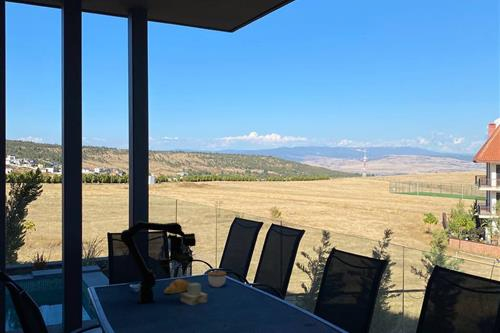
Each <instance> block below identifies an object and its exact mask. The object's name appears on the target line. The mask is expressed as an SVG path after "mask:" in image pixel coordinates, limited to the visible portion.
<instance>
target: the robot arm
mask: <svg viewBox="0 0 500 333" xmlns="http://www.w3.org/2000/svg"><path fill="white" fill-rule="evenodd" d="M141 230H147V231H155V232H156V231H157V232H159V231H160V232H165V233H168V235H167V236H166V239H168V240H170V241H169V246H170V247H169V248H168V251H169V256H168V258H166V257H163V258H158V259H157V262H156V263H157V264H156V265H159V266H160V267H161V268H162V270H163V272H164V274H165V276H166V278H167V279H169V276H170V275H169V268H170V265H169V264H171V263H178V264H181V265H180V266H181V276H185V274H186V270H187V268H188V266H189V265H190V264H192V263H193V262H194V257H193V256H192V255H191V254H190V252H184V250H183V248H182V245H183V246H184V247H185V248H186V247H196V244H197V243H196V242H197V241H196V233H194V232H193V233H185V232H184V231H183V229H182V225H181V224H180V223H179V222H168V223H167V222H166V223H159V222H148V221H141V220H139V221H137V222H136V223H135V224H133V225H132V226H130V227H129V228H128V229H124V230H122V232H121V233H120V240H121V242H122V243H124V245H125V246H126V247H127V249H129V252H130V254H131V255H132V258H133V260H134V262H135V264H136V265H137V268H138V269H139V271H140V273H141V278H142V281H141V282H140V283H139V288H140V289H138V299H137V300H136V301H137V302H138V303H141V304H148V303H153V302H155V301H154V291H153V287H154V286H155V285H156V279H157V278H156V277H157V276H156V275H155V274H154V272H153V269H152V268H151V269H150V270H149V268H148V267H147V265H146V263H145V261H144V258H143V257H142V255H141V254H140V252H139V249H138V246H137V245H136V242H135V240H134V239H135V238H134V236H135V235H137V234H138V232H140V231H141Z"/></svg>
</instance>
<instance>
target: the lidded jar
mask: <svg viewBox="0 0 500 333" xmlns="http://www.w3.org/2000/svg"><path fill="white" fill-rule="evenodd" d="M207 278H208V279H207V280H208V283H209V284H210V285H211V287H213V288H221V286H222V287H223V286H224V285H225V283H226V281H227V272H226V271H223V270H219V269H216V270H212V271H208V273H207Z"/></svg>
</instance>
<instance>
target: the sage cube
mask: <svg viewBox="0 0 500 333" xmlns="http://www.w3.org/2000/svg"><path fill="white" fill-rule="evenodd" d="M186 291H187V294H190V295H192V296H193V295H198V294H201V292H202V284H201V283H198V282H192V283H190V284H187V290H186Z"/></svg>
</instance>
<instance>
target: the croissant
mask: <svg viewBox="0 0 500 333" xmlns="http://www.w3.org/2000/svg"><path fill="white" fill-rule="evenodd" d="M190 283H193V282H191V281H188V280H185V279H183V278H177V279H175V280H173V281H172V282H171V283H170V284H169V286H167V287H166V289H164V290H163V293H164V294H166V295H169V294H170V295H172V294H174V295H175V294H181V293H185V292H186V291H187V284H190Z"/></svg>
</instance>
